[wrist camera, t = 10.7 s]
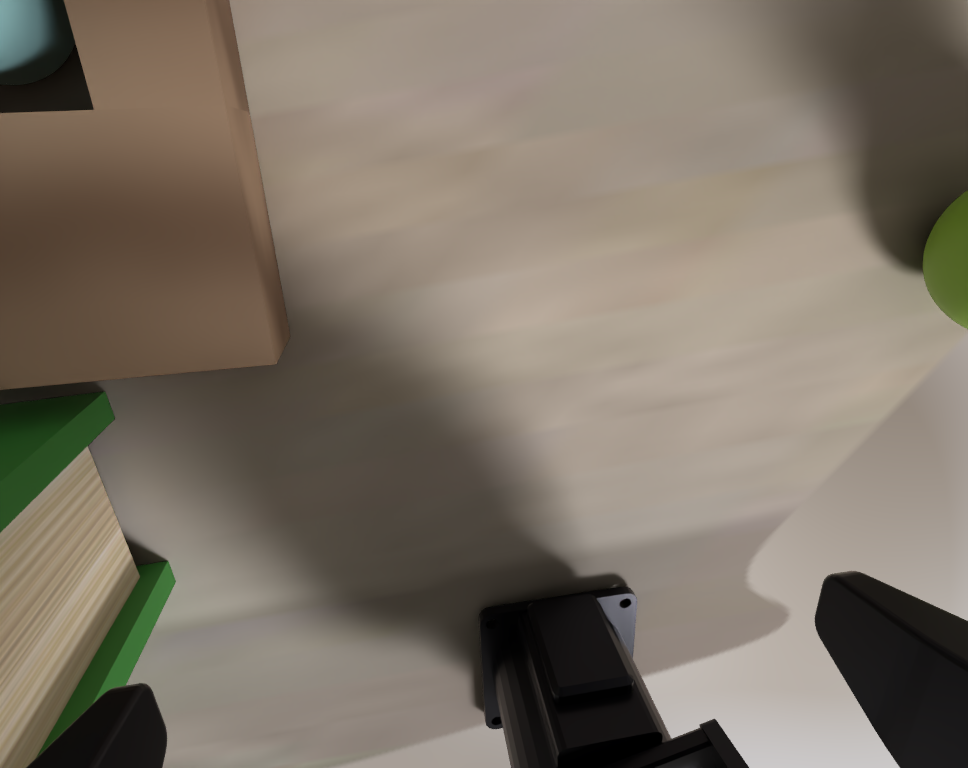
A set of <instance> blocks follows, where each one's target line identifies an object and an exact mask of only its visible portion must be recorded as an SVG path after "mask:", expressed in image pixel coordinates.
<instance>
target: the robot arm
mask: <svg viewBox="0 0 968 768" xmlns="http://www.w3.org/2000/svg"><path fill="white" fill-rule="evenodd" d="M625 598H626V599H625ZM623 599H625V600H623ZM622 600H623V601H622ZM636 610H637V598H636V596H635V594H634V592H633V591H632V590H631V588H628V587H618V588H611V589H604V590H598V591H591V592H585V593H578V594H572V595H565V596H559V597H552V598H546V599H539V600H533V601H526V602H520V603H513V604H507V605H500V606H494V607H489V608H485V609H484V610H483V611H481V613H480V614H479V618H478V621H479V637H480V653H481V669H482V686H483V702H484V716H485V722H486V725H487V726H488V727H489V728H492V729H499V728H503V730H504V735H505V740H506V744H507V749H508V755H509V759H510V765H511V768H749V767H748V765H747V764H746V763H745V761H744V760H743V758H742V757H741V756H740V754H739V753H738V751H737V750H736V748H735V747H734V745H733V744H732V742H731V741H730V740H729V738H728V737H727V735H726V734H725V732H724V731H723V729H722V728H721V727H720V725H719V724H718V722H717V721H716V720H715V719H713V720H710V721H708V722H705V723H703V724H700V728H698V729H696V730H694V731H691V732H688V733H686V734H683V735H680V736H678V737H675V738H673V739H671V737H670V735H669V733H668V731H667V729H666V727H665V725H664V722H663V720H662V718H661V716H660V714H659V712H658V710H657V708H656V706H655V704H654V702H653V700H652V698H651V696H650V694H649V692H648V690H647V688H646V685H645V683H644V681H643V679H642V677H641V675H640V673H639V671H638V669H637V667H636V665H635V663H634V661H633V648H634V635H635V623H636ZM491 619H495V620H494V621H491V622H490V621H489V620H491ZM815 626H816V630H817V632H818V635H819V637H820V639H821V640H822V642H823V644H824V646H825V647H826V649H827V651H828V652H829V654H830V656H831V657H832V659H833V660H834V662H835V664H836V665H837V667H838V669H839V671H840V672H841V674H842V676H843V677H844V679H845V680H846V682H847V684H848V686H849V687H850V689H851V691H852V692H853V694H854V696H855V697H856V699H857V701H858V702H859V704H860V706H861V707H862V709H863V711H864V712H865V714H866V716H867V717H868V719H869V721H870V722H871V724H872V726H873V727H874V729H875V731H876V732H877V734H878V735H879V737H880V738H881V740H882V742H883V743H884V745H885V746H886V748H887V749H888V751H889V752H890V753H891V755H892V756H893V758H894V760H895V761H896V762H897V764H898V765H899V767H900V768H968V621H966V620H964V619H962V618H960V617H958V616H955V615H953V614H951V613H949V612H947V611H944V610H942V609H940V608H938V607H936V606H933V605H931V604H929V603H927V602H925V601H923V600H920V599H918V598H916V597H914V596H912V595H909V594H907V593H905V592H903V591H901V590H898V589H896V588H894V587H892V586H890V585H887V584H885V583H883V582H881V581H879V580H876V579H874V578H872V577H870V576H868V575H865V574H863V573H861V572H857V571H848V572H841V573H835V574H830V575H828V576H827V577H826V578H825V579H824V581H823V585H822V589H821V593H820V597H819V602H818V606H817V610H816V614H815ZM166 747H167V731H166V726H165V723H164V721H163V718H162V715H161V713H160V710H159V707H158V705H157V702H156V699H155V697H154V694H153V691H152V690H151V688H150V687H149V686H148V685H147V684H143V683H139V684H133V685H127V686H120V687H115V688H112V689H109V690H108V691H106V692H105V693H104V694H103V695H101V696H100V697H99V698H98V699H97V700H96V701H95V702H94V703H93V704H92V705H91V706H90V707H89V708H88V709H87V710H86V711H85V712H84V713H83V714H81V715H80V716H79V717H78V718H77V719H76V720H75V721H74V722H73V723H72V724H71V725H70V726H69V727H68V728H67V729H66V730H65V731H64V732H63V733H62V734H61V735H60V736H58V737H57V738H56V739H55V740H54V741H53V742H52V743H51V744H50V745H49V746H48V747H47V748H46V749H45V750H44V751H43V752H42V753H41V754H40V755H39V756H38V757H37V758H35V759H34V760H33V761H32V762H31V763H30V764H29V765H28V766H27V767H26V768H162V767H163V762H164V757H165V753H166Z"/></svg>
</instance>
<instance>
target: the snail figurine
mask: <svg viewBox="0 0 968 768" xmlns="http://www.w3.org/2000/svg"><path fill="white" fill-rule="evenodd" d="M923 274H924V279H925V283H926V286H927V289H928V291H929V293H930V295H931V297H932V299H933V300H934V302H935V303H936V304H937V306H938V307H939V308H940V309H941V310H942V311H943V312H944V313H945V314H946V315H947V316H948V317H949V318H951V319H952V320H953V321H955V322H956V323H958V324H959V325H961V326H963V327H965V328H967V329H968V190H967V191H966V192H964V193H963V194H962V195H960V196H959V197H958V198H957V199H956V200H955V201H954V202H953V203H952V204H951V205H950V206H949V207H948V208H947V209H946V210H945V211H944V212H943V214H942V215H941V216H940V217H939V219H938V220H937V222H936V223H935V225H934V227H933V229H932V230H931V232H930V235H929V237H928V240H927V242H926V246H925V250H924V255H923Z"/></svg>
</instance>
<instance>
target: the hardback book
mask: <svg viewBox="0 0 968 768" xmlns="http://www.w3.org/2000/svg"><path fill="white" fill-rule="evenodd" d="M114 419H115V417H114V414H113V411H112V409H111V406H110V403H109V401H108V398H107V395H106V393H105V391H104V392H96V393H88V394H80V395H73V396H65V397H57V398H49V399H41V400H33V401H25V402H18V403H10V404H2V405H0V768H26V767H27V766H28V765H29V764H30V763H31V762H32V761H33V760H34V759H35V758H37V757H38V756H39V755H40V754H41V753H42V752H43V751H44V750H45V749H46V748H47V747H48V746H49V745H50V744H51V743H52V742H53V741H54V740H55V739H56V738H57V737H58V736H60V735H61V734H62V733H63V732H64V731H65V730H66V729H67V728H68V727H69V726H70V725H71V724H72V723H73V722H74V721H75V720H76V719H77V718H78V717H79V716H80V715H81V714H83V713H84V712H85V711H86V710H87V709H88V708H89V707H90V706H91V705H92V704H93V703H94V702H95V701H96V700H97V699H98V698H99V697H100V696H101V695H103V694H104V693H105V692H106V691H108V690H109V689H112V688H115V687H120V686H125V685H126V683H127V681H128V679H129V677H130V675H131V673H132V671H133V669H134V667H135V665H136V663H137V661H138V659H139V657H140V654H141V652H142V650H143V648H144V646H145V644H146V642H147V640H148V638H149V636H150V634H151V632H152V630H153V628H154V626H155V624H156V621H157V619H158V617H159V615H160V613H161V611H162V609H163V607H164V605H165V603H166V601H167V599H168V597H169V595H170V593H171V590H172V588H173V586H174V584H175V582H176V581H175V578H174V576H173V573H172V570H171V567H170V565H169V562H168V561H164V562H158V563H152V564H146V565H140V566H135V563H134V561H133V558H132V556H131V553H130V551H129V548H128V546H127V543H126V541H125V538H124V536H123V533H122V531H121V528H120V526H119V523H118V521H117V518H116V516H115V513H114V511H113V508H112V506H111V503H110V501H109V498H108V496H107V493H106V491H105V488H104V486H103V483H102V481H101V478H100V476H99V473H98V471H97V468H96V466H95V463H94V461H93V458H92V456H91V453H90V451H89V449H88V445H89V444H90V443H91V442H92V441H93V440H94V439H95V438H96V437H97V436H98V435H99V434H100V433H101V432H102V431H103V430H104V429H105V428H106V427H107V426H108V425H109V424H110V423H111V422H112V421H113V420H114Z"/></svg>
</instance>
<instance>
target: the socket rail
mask: <svg viewBox="0 0 968 768" xmlns="http://www.w3.org/2000/svg"><path fill="white" fill-rule="evenodd" d="M64 3H65V7H66V10H67V14H68V17H69V21H70V25H71V28H72V32H73V35H74V39H75V43H76V46H77V50H78V54H79V57H80V61H81V64H82V68H83V72H84V75H85V79H86V82H87V86H88V90H89V93H90V97H91V100H92V104H93V108H94V110H76V111H47V112H19V113H0V390H4V389H15V388H26V387H37V386H48V385H58V384H69V383H80V382H91V381H102V380H112V379H123V378H134V377H145V376H156V375H166V374H177V373H188V372H199V371H209V370H220V369H231V368H242V367H253V366H263V365H274V364H277V362H278V360H279V358H280V356H281V354H282V352H283V350H284V348H285V346H286V344H287V342H288V340H289V338H290V332H289V326H288V321H287V315H286V310H285V304H284V299H283V293H282V288H281V282H280V277H279V271H278V266H277V260H276V255H275V249H274V244H273V238H272V233H271V227H270V222H269V217H268V211H267V206H266V200H265V195H264V189H263V184H262V178H261V173H260V167H259V162H258V156H257V151H256V145H255V140H254V134H253V129H252V123H251V118H250V113H249V107H248V102H247V96H246V91H245V85H244V80H243V74H242V69H241V63H240V58H239V52H238V47H237V41H236V36H235V30H234V25H233V19H232V14H231V8H230V3H229V0H64Z"/></svg>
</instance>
